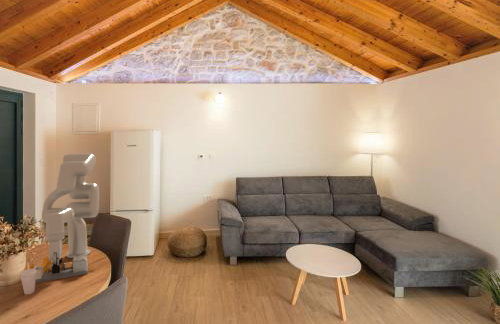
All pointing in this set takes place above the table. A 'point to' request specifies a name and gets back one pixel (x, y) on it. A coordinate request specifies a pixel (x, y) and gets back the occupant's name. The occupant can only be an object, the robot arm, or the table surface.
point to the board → (59, 275)
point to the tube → (62, 266)
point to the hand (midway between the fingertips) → (57, 269)
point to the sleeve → (79, 264)
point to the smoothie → (28, 280)
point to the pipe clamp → (45, 264)
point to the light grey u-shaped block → (39, 271)
